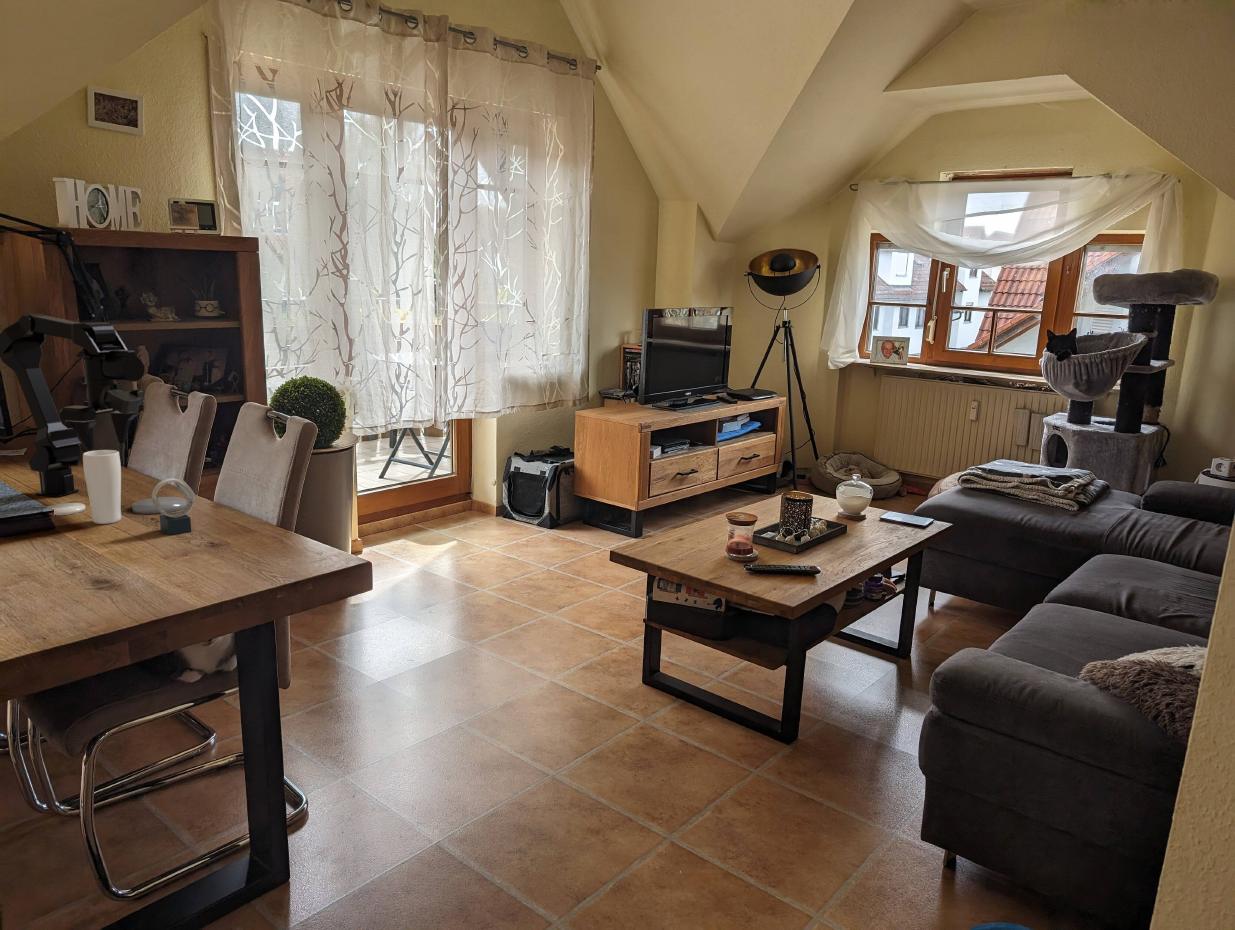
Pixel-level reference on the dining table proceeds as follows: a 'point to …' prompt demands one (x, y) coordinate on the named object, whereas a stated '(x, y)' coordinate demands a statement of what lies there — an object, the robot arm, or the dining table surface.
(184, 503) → the slate saucer
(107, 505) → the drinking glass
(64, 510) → the cream coaster
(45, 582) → the dining table surface
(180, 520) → the grey ring on block
